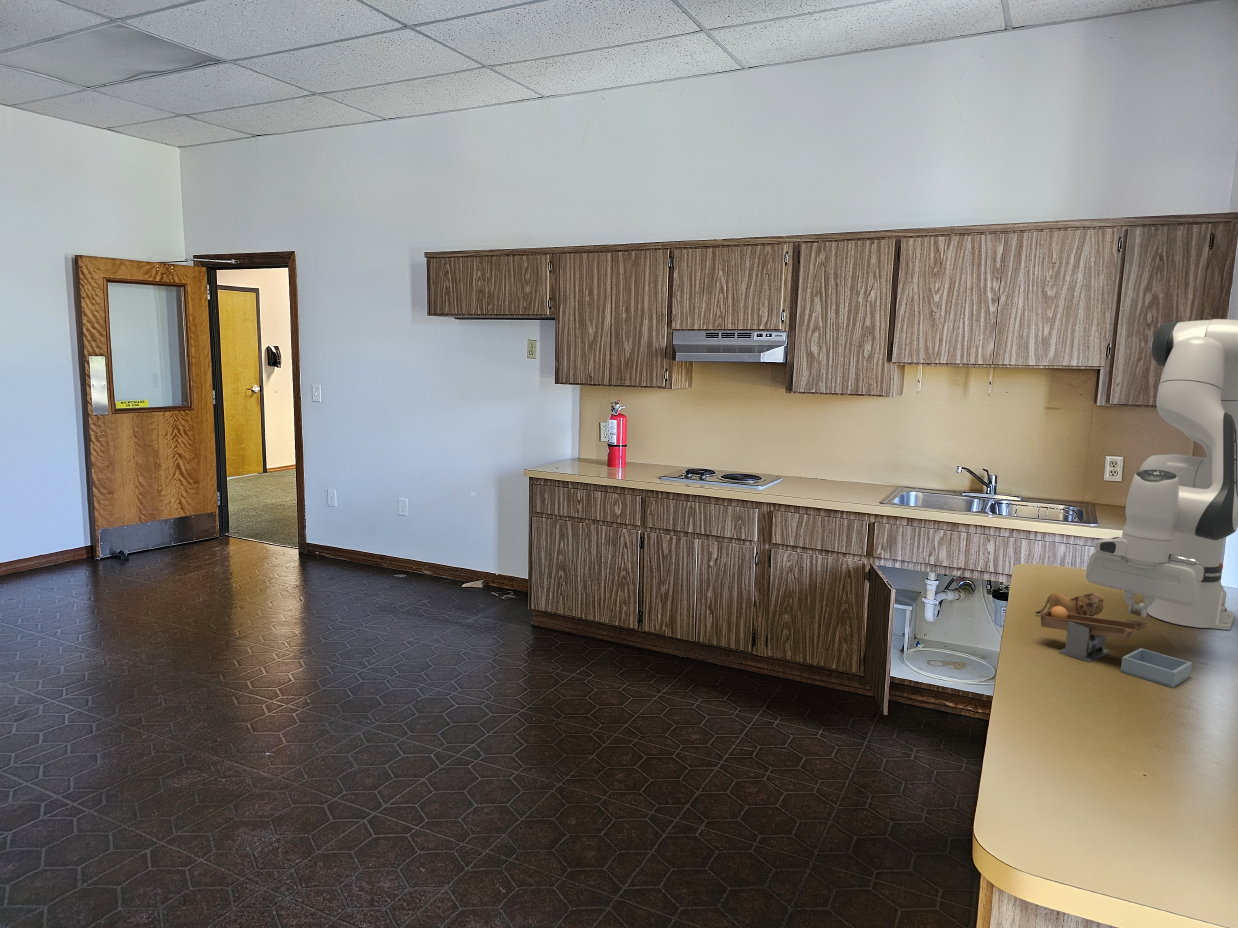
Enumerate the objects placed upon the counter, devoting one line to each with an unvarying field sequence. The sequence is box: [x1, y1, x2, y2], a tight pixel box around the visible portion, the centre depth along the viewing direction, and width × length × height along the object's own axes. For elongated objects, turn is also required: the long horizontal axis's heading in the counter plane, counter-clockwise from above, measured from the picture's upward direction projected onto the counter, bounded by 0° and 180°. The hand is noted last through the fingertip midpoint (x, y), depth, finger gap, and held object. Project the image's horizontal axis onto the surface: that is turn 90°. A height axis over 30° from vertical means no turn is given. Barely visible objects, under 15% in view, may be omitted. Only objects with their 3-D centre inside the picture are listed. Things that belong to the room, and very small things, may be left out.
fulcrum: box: [1058, 615, 1110, 663], centre depth 167 cm, size 9×6×7 cm, turn 127°
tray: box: [1119, 647, 1193, 689], centre depth 157 cm, size 9×9×3 cm
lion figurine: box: [1034, 591, 1106, 617], centre depth 185 cm, size 15×5×9 cm, turn 35°
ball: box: [1050, 606, 1068, 619], centre depth 171 cm, size 3×3×3 cm
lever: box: [1040, 609, 1148, 640], centre depth 169 cm, size 13×16×3 cm
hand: (1136, 614), depth 166 cm, fingers closed
